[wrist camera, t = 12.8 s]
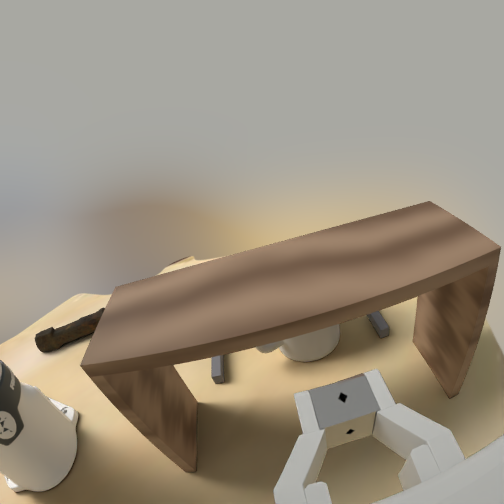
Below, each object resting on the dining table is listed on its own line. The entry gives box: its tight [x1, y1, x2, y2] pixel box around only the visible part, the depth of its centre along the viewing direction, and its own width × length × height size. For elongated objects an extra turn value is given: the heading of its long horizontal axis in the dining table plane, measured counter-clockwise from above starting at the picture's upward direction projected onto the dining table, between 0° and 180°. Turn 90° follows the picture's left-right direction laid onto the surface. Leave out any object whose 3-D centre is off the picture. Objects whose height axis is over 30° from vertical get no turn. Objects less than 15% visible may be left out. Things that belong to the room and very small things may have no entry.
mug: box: [256, 324, 340, 362], centre depth 36 cm, size 12×8×11 cm
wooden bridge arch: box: [80, 201, 501, 472], centre depth 25 cm, size 10×30×18 cm, turn 95°
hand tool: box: [35, 308, 105, 352], centre depth 52 cm, size 19×4×5 cm, turn 110°
